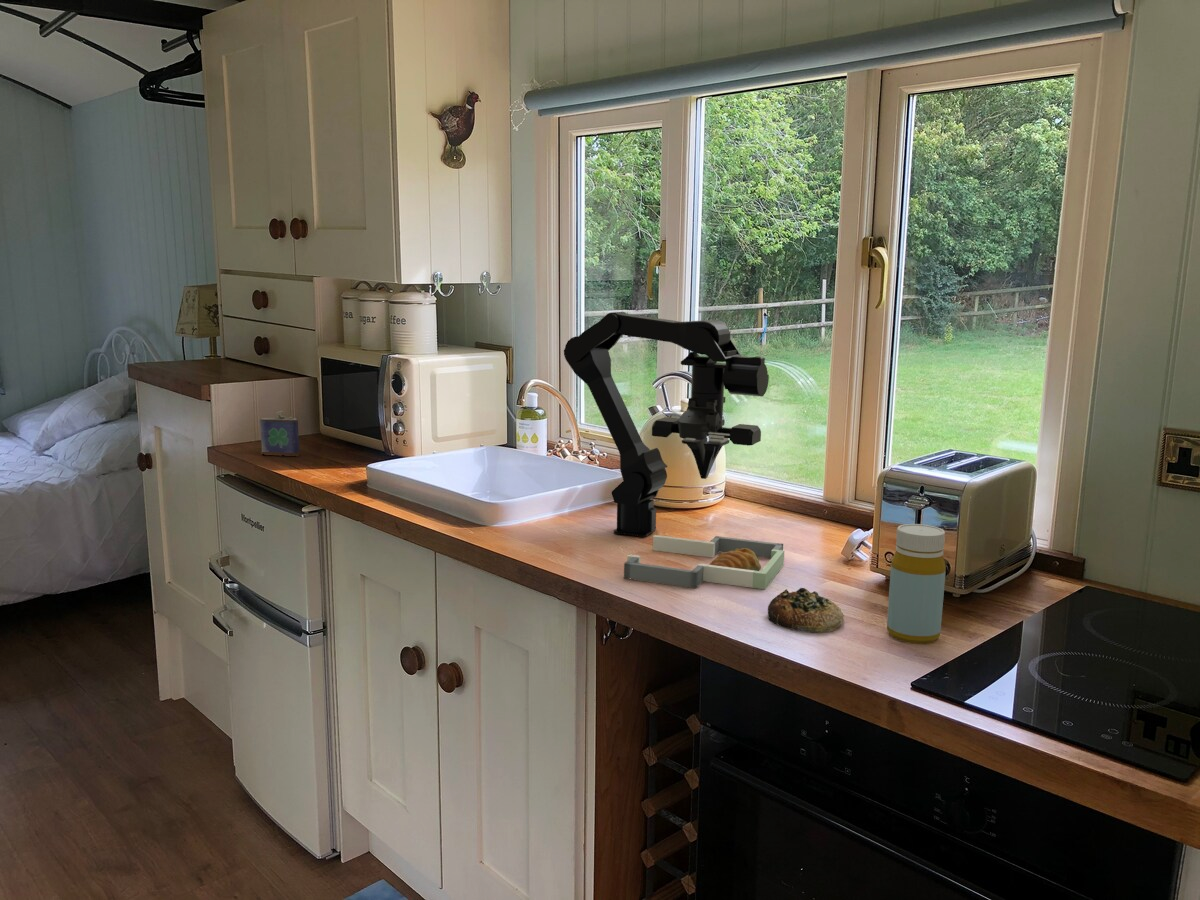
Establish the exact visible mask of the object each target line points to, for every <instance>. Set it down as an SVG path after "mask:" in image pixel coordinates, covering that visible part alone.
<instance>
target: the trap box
mask: <svg viewBox="0 0 1200 900" xmlns="http://www.w3.org/2000/svg"><path fill="white" fill-rule="evenodd" d="M736 548H738V549H742V548H747V549H750V550H751V551H753V552H754V553H755V554H756V557H757V558H758V557H759V558H768V559H769V561H768V562H767V563H766V565H764V567H763V568H761V570H760V571H754V570H746V569H738V568H731V567H723V566H715V565H709V564H706V563H698V564H697V565H696V566H695V567H694V568H693V569H685V568H677V567H668V566H662V565H661V566H660V565H654V564H647V563H641V561H642V560H641V555H637V554H628V555H627V556H626V561H625V562H624V563H623V579H625V578H631V579H630V580H632V579H636V580H635V581H639V580H642V581H641V582H647V581H648V582H649V583H654V584H661V585H669V586H676V587H684V588H691V589H697V588H698V587H699V586H700V585H701V584H702V583H703V582H709V583H716V584H721V585H722V584H723V585H729V586H730V585H732V586H738V587H747V588H751V589H761V590H766V589H767V587H768V586H770V584H771V582H772V581H773V580H774V579H775V577H776V576H777V574H778V573H779V572H780V570H781V569H782V568H783V566H784V565H785V550H784V543H777V542H770V541H762V540H761V541H760V540H752V539H744V538H737V537H726V536H718V535H715V536H714V537H713V538H712V539H711V540H710V541H707V540H699V539H691V538H683V537H681V538H680V537H674V536H668V535H667V536H665V535H664V536H663V535H658V534H654V535H653V536H652V551H657V552H664V553H671V554H673V553H674V554H682V555H689V556H695V557H702V558H703V557H705V558H715V556H716V555H718V554H719V553H723V552H729V551H735V549H736Z"/></svg>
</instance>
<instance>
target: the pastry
mask: <svg viewBox="0 0 1200 900" xmlns="http://www.w3.org/2000/svg"><path fill="white" fill-rule="evenodd" d="M708 565H715V566H723V567H731V568H738V569H746V570H754V571H762V565H761V563H760V560H759V559H758V557H757V556H756V554H755V553H754V552H753V551H751V550H750V549H747V548H742V549H738V548H736V549H735V551H729V552H720V554H719V555H718V556H717V557H715V558H714V559H713V560H712V561H711V562H710V563H709V564H708Z"/></svg>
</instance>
